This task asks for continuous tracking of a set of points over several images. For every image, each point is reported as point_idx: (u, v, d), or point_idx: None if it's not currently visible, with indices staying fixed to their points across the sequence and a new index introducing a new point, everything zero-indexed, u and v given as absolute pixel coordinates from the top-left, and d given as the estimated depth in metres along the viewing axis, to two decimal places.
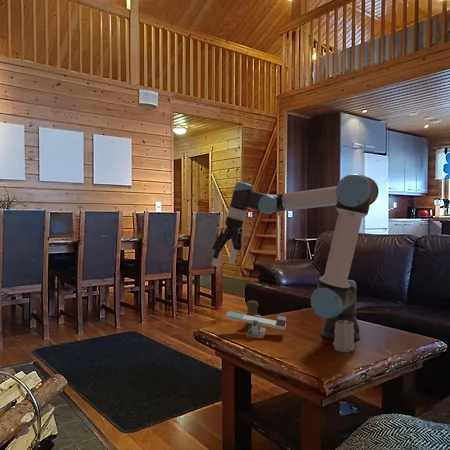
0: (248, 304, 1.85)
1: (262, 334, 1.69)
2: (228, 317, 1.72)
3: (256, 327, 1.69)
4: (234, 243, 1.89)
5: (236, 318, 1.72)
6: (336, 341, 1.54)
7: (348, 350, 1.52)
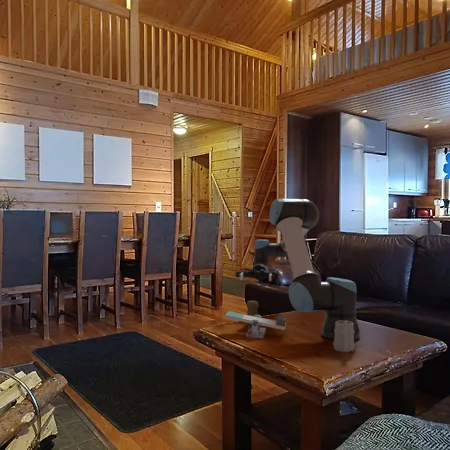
0: (248, 304, 1.85)
1: (262, 334, 1.69)
2: (228, 317, 1.72)
3: (256, 327, 1.69)
4: (267, 275, 2.04)
5: (236, 318, 1.72)
6: (336, 341, 1.54)
7: (348, 350, 1.52)
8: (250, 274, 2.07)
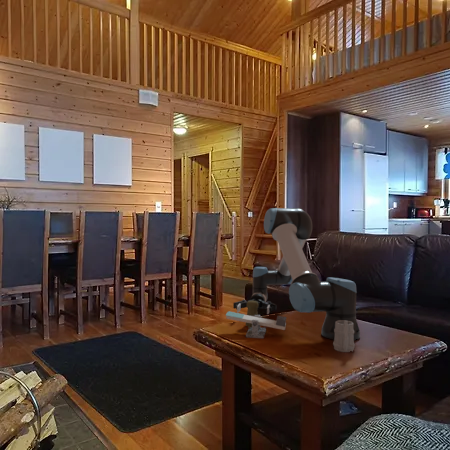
0: (248, 304, 1.85)
1: (262, 334, 1.69)
2: (228, 317, 1.72)
3: (256, 327, 1.69)
4: (265, 306, 1.99)
5: (236, 318, 1.72)
6: (336, 341, 1.54)
7: (348, 350, 1.52)
8: None
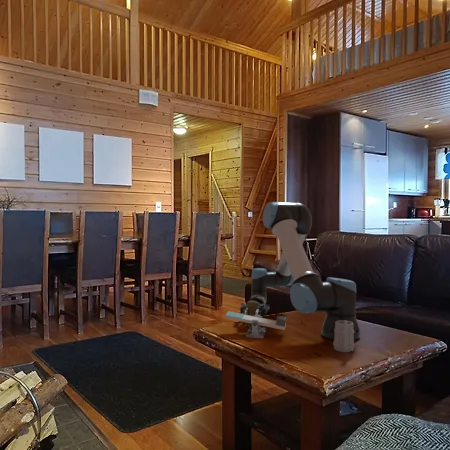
0: (248, 304, 1.85)
1: (262, 334, 1.69)
2: (228, 317, 1.72)
3: (256, 327, 1.69)
4: None
5: (236, 318, 1.72)
6: (336, 341, 1.54)
7: (348, 350, 1.52)
8: None
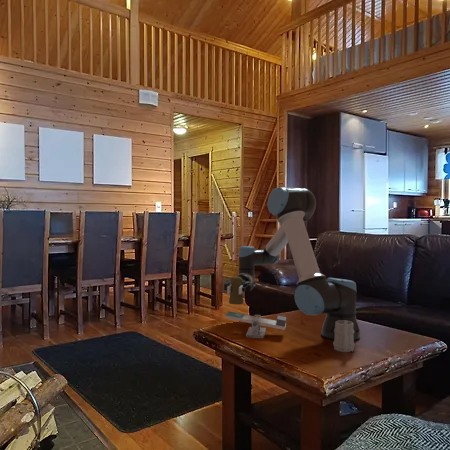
0: (231, 280, 1.76)
1: (262, 334, 1.69)
2: (228, 317, 1.72)
3: (256, 327, 1.69)
4: None
5: (236, 318, 1.72)
6: (336, 341, 1.54)
7: (348, 350, 1.52)
8: None
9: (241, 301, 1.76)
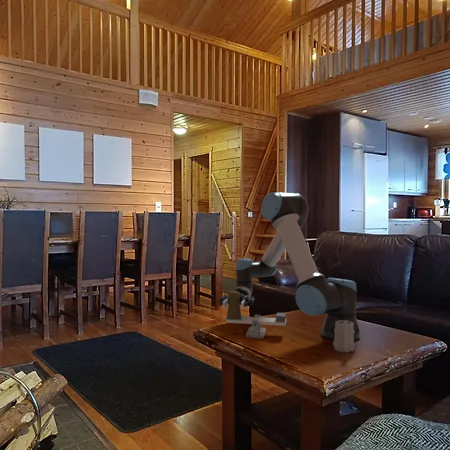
0: (229, 294, 1.74)
1: (262, 334, 1.69)
2: (228, 321, 1.73)
3: (256, 327, 1.69)
4: None
5: (236, 321, 1.72)
6: (336, 341, 1.54)
7: (348, 350, 1.52)
8: None
9: (239, 316, 1.74)
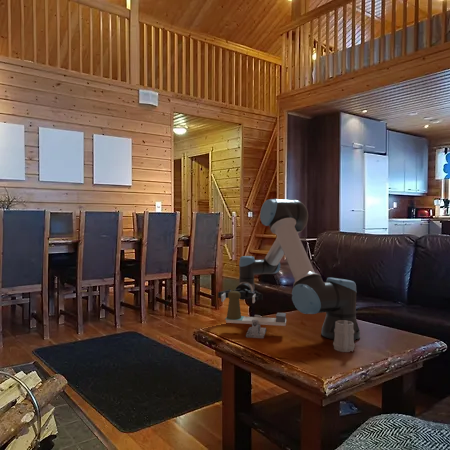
0: (229, 294, 1.74)
1: (262, 334, 1.69)
2: (228, 321, 1.73)
3: (256, 327, 1.69)
4: (251, 295, 1.92)
5: (236, 321, 1.72)
6: (336, 341, 1.54)
7: (348, 350, 1.52)
8: None
9: (239, 316, 1.74)
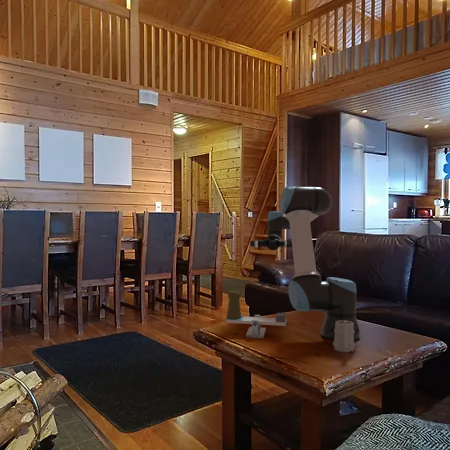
0: (229, 294, 1.74)
1: (262, 334, 1.69)
2: (228, 321, 1.73)
3: (256, 327, 1.69)
4: (282, 244, 2.02)
5: (236, 321, 1.72)
6: (336, 341, 1.54)
7: (348, 350, 1.52)
8: (264, 243, 2.05)
9: (239, 316, 1.74)
